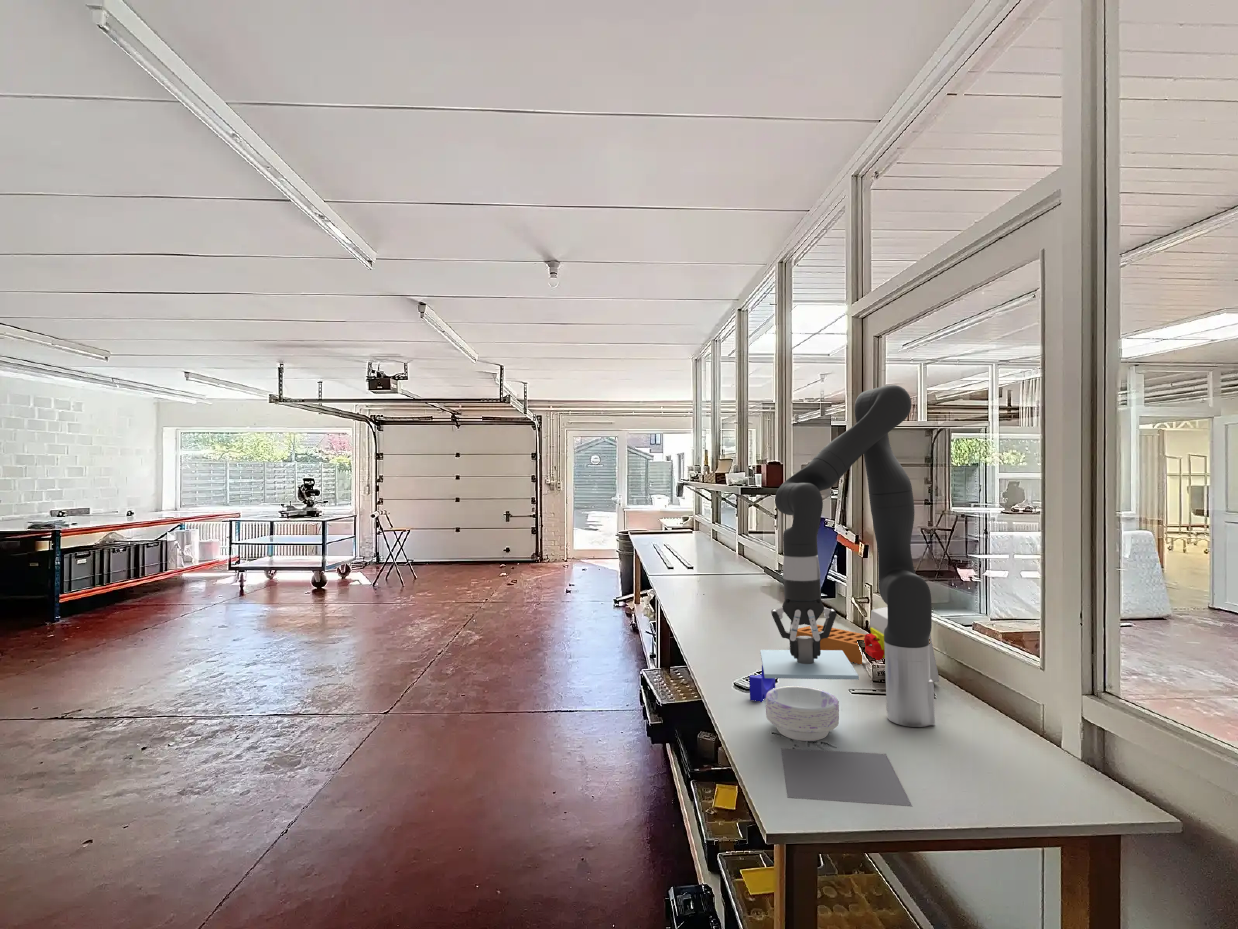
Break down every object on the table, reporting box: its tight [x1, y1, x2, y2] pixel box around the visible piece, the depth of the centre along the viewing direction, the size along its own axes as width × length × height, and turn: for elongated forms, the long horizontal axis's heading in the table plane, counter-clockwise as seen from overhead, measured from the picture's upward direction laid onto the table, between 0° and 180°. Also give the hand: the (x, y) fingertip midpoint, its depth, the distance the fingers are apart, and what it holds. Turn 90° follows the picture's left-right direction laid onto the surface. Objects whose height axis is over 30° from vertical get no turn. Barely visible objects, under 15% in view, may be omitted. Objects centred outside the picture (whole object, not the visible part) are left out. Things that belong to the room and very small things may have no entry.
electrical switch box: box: [864, 606, 940, 683], centre depth 171 cm, size 15×15×20 cm
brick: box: [796, 624, 866, 665], centre depth 197 cm, size 25×12×6 cm, turn 35°
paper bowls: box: [765, 685, 840, 742], centre depth 136 cm, size 15×15×8 cm
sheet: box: [759, 636, 860, 681], centre depth 134 cm, size 18×18×6 cm
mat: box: [780, 747, 913, 807], centre depth 116 cm, size 20×20×1 cm
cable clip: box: [748, 664, 776, 703], centre depth 162 cm, size 12×4×6 cm, turn 150°
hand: (805, 657), depth 134 cm, fingers closed on sheet, 3 cm apart
